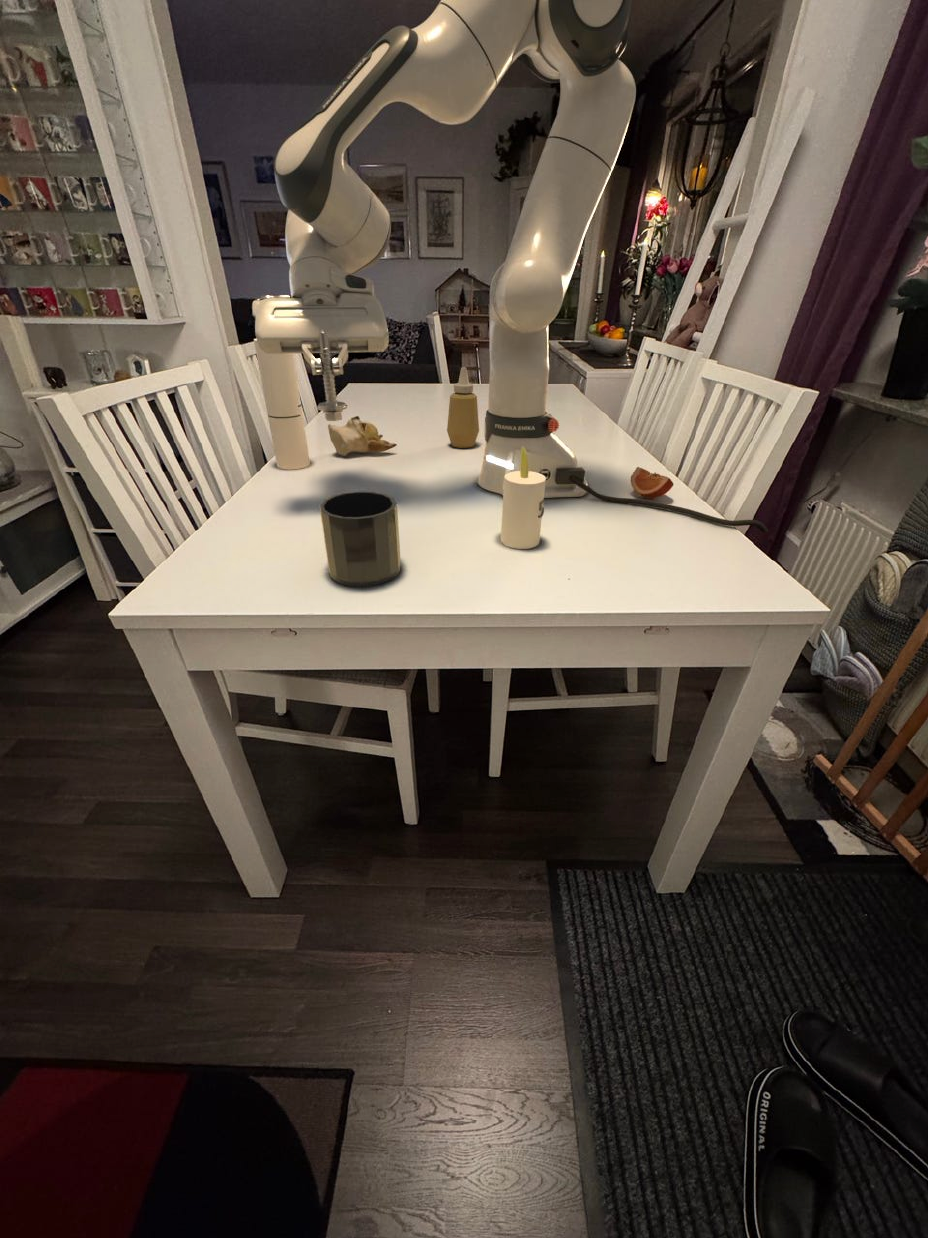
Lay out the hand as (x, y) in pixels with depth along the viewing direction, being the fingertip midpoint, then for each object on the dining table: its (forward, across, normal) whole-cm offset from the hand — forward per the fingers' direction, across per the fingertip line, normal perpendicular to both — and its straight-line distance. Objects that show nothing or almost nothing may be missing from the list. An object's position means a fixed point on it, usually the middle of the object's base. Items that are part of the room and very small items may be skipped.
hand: (328, 372), depth 81 cm
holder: (+32, +2, +1) cm, 32 cm away
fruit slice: (+18, +59, +15) cm, 64 cm away
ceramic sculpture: (-10, +5, +44) cm, 45 cm away
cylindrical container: (-6, -10, +39) cm, 40 cm away
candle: (+29, +28, +4) cm, 40 cm away
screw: (+5, 0, +6) cm, 7 cm away
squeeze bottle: (-12, +31, +45) cm, 56 cm away
